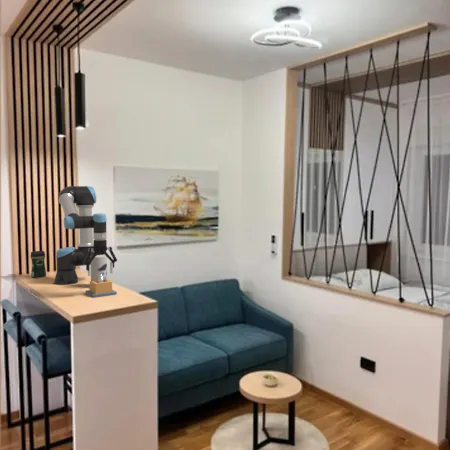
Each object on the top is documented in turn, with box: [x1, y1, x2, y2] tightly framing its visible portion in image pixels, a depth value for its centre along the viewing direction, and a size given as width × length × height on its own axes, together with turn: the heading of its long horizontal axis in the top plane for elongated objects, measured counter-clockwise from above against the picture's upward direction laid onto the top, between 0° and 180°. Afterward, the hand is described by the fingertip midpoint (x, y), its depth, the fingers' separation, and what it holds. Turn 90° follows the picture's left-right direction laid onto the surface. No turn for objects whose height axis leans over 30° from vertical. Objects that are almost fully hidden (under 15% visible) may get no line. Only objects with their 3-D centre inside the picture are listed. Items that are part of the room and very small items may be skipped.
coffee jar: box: [30, 250, 47, 278], centre depth 304 cm, size 10×8×19 cm
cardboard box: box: [89, 278, 113, 294], centre depth 256 cm, size 10×10×6 cm
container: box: [90, 255, 108, 281], centre depth 275 cm, size 10×10×20 cm
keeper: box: [85, 274, 118, 299], centre depth 256 cm, size 14×14×12 cm
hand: (100, 274), depth 256 cm, fingers open, 13 cm apart
